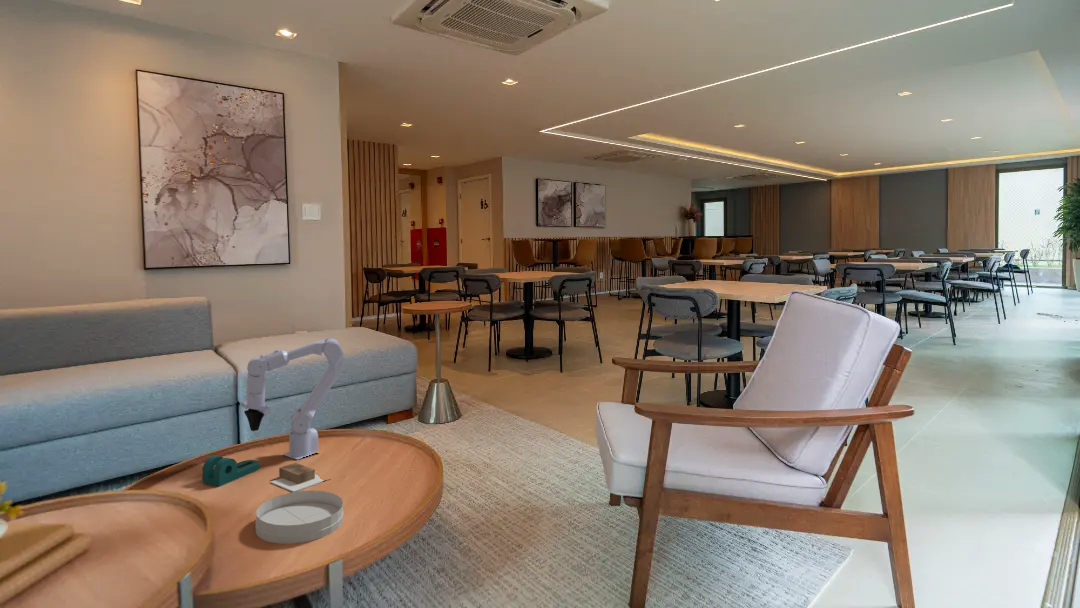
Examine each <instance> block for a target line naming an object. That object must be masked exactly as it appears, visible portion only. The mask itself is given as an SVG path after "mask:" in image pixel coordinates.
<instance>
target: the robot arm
mask: <svg viewBox="0 0 1080 608" xmlns="http://www.w3.org/2000/svg"><path fill="white" fill-rule="evenodd" d="M313 354H314V355H317V356H323V355H324V356H325V357H326V360H327V364H328V367H327V368H326V370H325V371H324V374H323V375H322V376H321V377H320V379H319V380H318V382H317V384H315V387H314V388H313V390H311V393H310V394H309V396H308V397H307V399H306V400H305V401H304V402H303V404H301V406H300V407H299V408H298V409H297V410H295V411H294V412H293V413H292V414H291V417H290V421H291V423H290V426H291V428H290V429H289V436H288V440H289V442H288V444H289V445H288V452H285V453H283V456H286V457H288V458H291V459H294V460H302V459H304V458H303V457H305V458H307V457H306V456H308V457H310V456H309V454H310V455H311V454H312V453H314V452H315V451H317V450H318V451H319V434H318V433H319V432H318V431H317V430H316V428H314V427H311V422H312V420H313V418H314V416H315V413H316V411H317V409H318V407H319V406H320V405H321V404H322V402H323V400H324V399H325V397H326V396H327V394H328V393H329V391H330V390H331V388H332V387H333V385H334V384H335V382H336V381H337V379H338V378H339V377H340V375H341V373H342V372H343V370H344V350H343V348H342V346H341V344H340V342H339V340H337V339H336V338H334V337H328V338H326V339H320V340H317V341H313V342H310V343H308V344H305V345H303V346H302V345H301V346H300V347H297V348H294V349H290V350H288V351H285V350H283V349H280V350H279V349H275V350H274V351H273V352H271V353H268V354H265V355H264V354H261V355H259V356H258V357H256V356H255V357H253V358H251V359H250V360H249V361H248V363H247V367H246V369H247V370H246V371H247V372H248V374H247V380H246V400H242V401H240V407H242V409H244V414H245V416H246V418H247V421H248V425H249V428H250V431H251V432H255V431H259V429H260V425H261V423H262V420H263V418H264V416H265V415H269V414H271V407H269V406H268V405H267V404H266V403H265V402H266V401H265V399H266V377H265V375H266V374H265V373H266V372H270V371H272V370H273V371H274V370H276V369H279V368H282V367H285V366H288V364H289V363H290V361H292V360H296V359H299V358H302V357H306V356H309V355H313ZM322 354H323V355H322ZM311 456H312V455H311Z"/></svg>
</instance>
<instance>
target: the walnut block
mask: <svg viewBox="0 0 1080 608" xmlns="http://www.w3.org/2000/svg"><path fill="white" fill-rule="evenodd" d="M278 469H279V471H278V475H279V476H278V477H279V478H284V479H286V480H289V481H291V482H294V483H296V484H301V483H304V482H307V481H310V480H312V479H315V472H316V469H314V468H312V467H308V466H305V465H303V464H300V463H297V462H293V463H291V464H287V465H284V466H281V467H279V468H278Z"/></svg>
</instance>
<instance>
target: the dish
mask: <svg viewBox="0 0 1080 608" xmlns="http://www.w3.org/2000/svg"><path fill="white" fill-rule="evenodd" d="M255 513H256V515H255V516H256V520H255V525H254V526H255V534H256V535H257V536H258V538H259V539H261V540H263V541H265V542H267V543H269V542H270V543H273V544H282V545H283V544H284V545H289V544H301V543H307V542H310V541H311V542H312V541H316V540H318V539H322V538H324V537H326V536H329V535H331V534H332V533H334V532H335V531H336V530H338V529H339V528H340V527H341V526H342V524H343V523H344V522H343V521H344V501H343V499H342V498H341V497H340V496H339V495H337V494H336V493H333V492H330V491H323V490H300V491H297V492H287V493H283V494H280V495H278V496H275V497H272V498H269V499H268V500H267V501H264V502H263V503H261V504H260V506H258V508H257V509H256V511H255Z"/></svg>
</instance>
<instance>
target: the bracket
mask: <svg viewBox="0 0 1080 608" xmlns="http://www.w3.org/2000/svg"><path fill="white" fill-rule="evenodd" d="M259 470H260V461H259V460H257V459H246V460H242V461H240V462H237V461H236V460H235V459H234V458H230V457H223V456H220V455H211V456H209V457H208V458H207V459H205V460H204V463H203V466H202V482H201V483H202V484H205V485H208V486H213V487H218V488H221V487H222V486H225V485H227V484H229V483H232V482H233V481H237V480H238V479H240V478H243V477H246V476H248V475H250V474H252V473H255V472H257V471H259Z"/></svg>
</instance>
